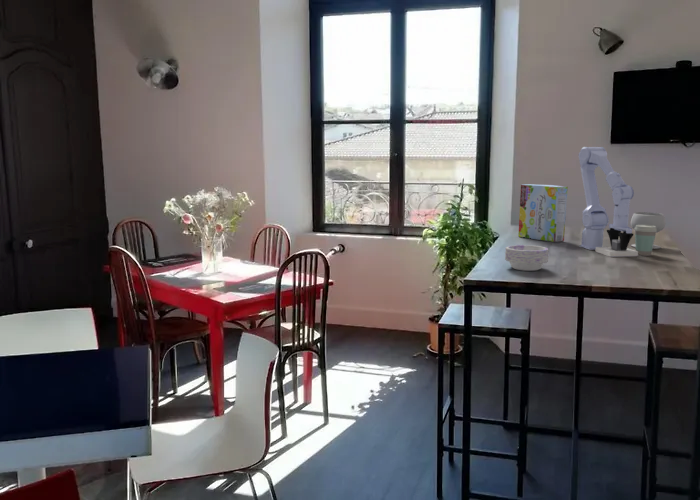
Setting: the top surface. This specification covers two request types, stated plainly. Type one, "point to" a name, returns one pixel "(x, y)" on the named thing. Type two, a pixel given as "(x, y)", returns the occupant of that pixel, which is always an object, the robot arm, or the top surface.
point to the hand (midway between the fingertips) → (618, 248)
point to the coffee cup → (645, 239)
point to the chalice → (648, 222)
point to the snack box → (542, 212)
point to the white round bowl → (526, 257)
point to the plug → (616, 245)
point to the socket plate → (616, 252)
